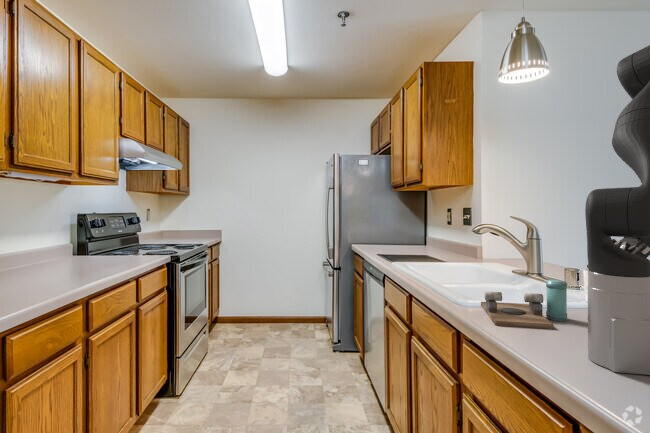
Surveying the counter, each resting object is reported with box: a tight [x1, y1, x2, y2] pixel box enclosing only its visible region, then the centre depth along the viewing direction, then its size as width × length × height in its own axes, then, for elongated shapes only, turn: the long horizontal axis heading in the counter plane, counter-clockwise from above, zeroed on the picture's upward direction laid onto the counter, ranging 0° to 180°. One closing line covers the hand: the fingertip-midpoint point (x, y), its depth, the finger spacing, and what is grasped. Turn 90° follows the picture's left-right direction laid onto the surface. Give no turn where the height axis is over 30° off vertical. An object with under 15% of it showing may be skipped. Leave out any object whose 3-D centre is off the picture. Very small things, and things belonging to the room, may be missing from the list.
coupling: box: [545, 279, 568, 322], centre depth 91 cm, size 5×5×10 cm
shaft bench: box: [480, 291, 554, 330], centre depth 93 cm, size 18×14×6 cm
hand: (598, 272), depth 88 cm, fingers open, 8 cm apart
